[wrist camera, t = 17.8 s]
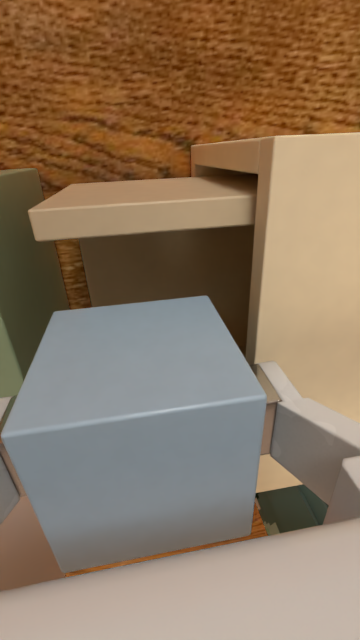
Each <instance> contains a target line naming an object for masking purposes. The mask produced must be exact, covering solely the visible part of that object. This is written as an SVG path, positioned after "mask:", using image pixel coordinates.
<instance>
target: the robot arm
mask: <svg viewBox="0 0 360 640" xmlns="http://www.w3.org/2000/svg"><path fill="white" fill-rule="evenodd" d="M249 366H250V368H251V369H252V371H253V373H254V374H255V376H256V378H257V379H258V381H259V383H260V385H261V386H262V388H263V390H264V391H265V393H266V395H267V403H266V411H265V420H264V428H263V436H262V445H261V453H260V455H267V454H270V456H271V457H272V458H273V459H274V460H276V461H277V462H278V463H279V464H280V465H282V466H283V467H284V468H285V469H286V470H287V471H289V472H290V473H291V474H292V475H293V476H295V477H296V478H297V479H298V480H299V481H300V482H302V483H303V484H304V485H305V486H306V487H308V488H309V489H310V490H311V491H312V492H313V493H315V494H316V495H317V496H318V497H319V498H320V499H322V500H323V501H324V502H325V503H326V504H328V505H329V506H328V509H327V512H326V516H325V519H324V522H323V525H319V526H314V527H309V528H304V529H299V530H294V531H289V532H285V533H280V534H275V535H270V536H265V537H260V538H255V539H250V540H245V541H241V542H236V543H231V544H226V545H221V546H216V547H211V548H206V549H202V550H197V551H192V552H187V553H182V554H177V555H172V556H167V557H163V558H158V559H153V560H148V561H143V562H138V563H134V564H129V565H124V566H119V567H114V568H109V569H104V570H100V571H95V572H90V573H85V574H80V575H75V576H71V577H66V578H61V579H56V580H51V581H46V582H41V583H36V584H32V585H27V586H22V587H17V588H12V589H7V590H2V591H0V640H360V423H358V422H356V421H354V420H352V419H350V418H348V417H346V416H344V415H342V414H340V413H338V412H336V411H334V410H332V409H330V408H328V407H326V406H324V405H322V404H320V403H318V402H316V401H314V400H312V399H310V398H303V397H302V396H301V395H300V393H299V392H298V391H297V389H296V388H295V387H294V385H293V384H292V383H291V381H290V380H289V379H288V377H287V376H286V375H285V373H284V372H283V371H282V369H281V368H280V367H279V365H278V364H277V363H276V362H275V361H267V362H261V363H256V364H251V365H249ZM16 398H17V395H15V396H8V397H0V525H1V524H2V522H3V521H4V520H5V519H6V517H7V516H8V515H9V513H10V512H11V511H12V510H13V508H14V507H15V506H16V504H17V503H18V502H19V501H20V497H23V496H27V494H26V492H25V490H24V488H23V486H22V483H21V481H20V479H19V477H18V475H17V472H16V470H15V468H14V466H13V463H12V461H11V459H10V457H9V455H8V452H7V450H6V448H5V446H4V444H3V441H2V439H1V432H2V430H3V428H4V425H5V423H6V421H7V419H8V416H9V414H10V412H11V409H12V407H13V405H14V402H15V400H16Z"/></svg>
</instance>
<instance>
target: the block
mask: <svg viewBox="0 0 360 640" xmlns="http://www.w3.org/2000/svg"><path fill="white" fill-rule="evenodd" d="M266 403H267V395H266V393H265V391H264V390H263V388H262V386H261V385H260V383H259V381H258V379H257V378H256V376H255V374H254V373H253V371H252V369H251V368H250V366H249V364H248V363H247V361H246V359H245V358H244V356H243V354H242V353H241V351H240V349H239V347H238V346H237V344H236V342H235V341H234V339H233V337H232V336H231V334H230V332H229V331H228V329H227V327H226V326H225V324H224V322H223V320H222V319H221V317H220V315H219V314H218V312H217V310H216V309H215V307H214V305H213V304H212V302H211V300H210V299H209V297H208V296H197V297H187V298H178V299H168V300H159V301H149V302H140V303H130V304H121V305H111V306H102V307H92V308H83V309H73V310H64V311H55V312H53V315H52V317H51V319H50V321H49V324H48V326H47V328H46V331H45V333H44V335H43V338H42V340H41V342H40V345H39V347H38V349H37V351H36V354H35V356H34V358H33V361H32V363H31V365H30V368H29V370H28V372H27V375H26V377H25V379H24V382H23V384H22V386H21V388H20V391H19V393H18V395H17V398H16V400H15V402H14V405H13V407H12V409H11V412H10V414H9V416H8V419H7V421H6V423H5V425H4V428H3V430H2V432H1V439H2V441H3V444H4V446H5V448H6V450H7V452H8V455H9V457H10V459H11V461H12V463H13V466H14V468H15V470H16V472H17V475H18V477H19V479H20V481H21V483H22V486H23V488H24V490H25V492H26V494H27V497H28V499H29V501H30V503H31V506H32V508H33V510H34V512H35V514H36V517H37V519H38V521H39V523H40V525H41V528H42V530H43V532H44V534H45V537H46V539H47V541H48V543H49V545H50V548H51V550H52V552H53V554H54V556H55V559H56V561H57V563H58V565H59V568H60V570H61V572H63V573H67V572H72V571H77V570H82V569H87V568H92V567H97V566H101V565H106V564H111V563H116V562H121V561H126V560H131V559H136V558H141V557H146V556H151V555H156V554H160V553H165V552H170V551H175V550H180V549H185V548H190V547H195V546H200V545H205V544H210V543H215V542H220V541H224V540H229V539H234V538H239V537H244V536H249V535H250V534H251V528H252V520H253V511H254V503H255V495H256V486H257V478H258V470H259V461H260V453H261V445H262V436H263V428H264V420H265V411H266Z"/></svg>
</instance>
